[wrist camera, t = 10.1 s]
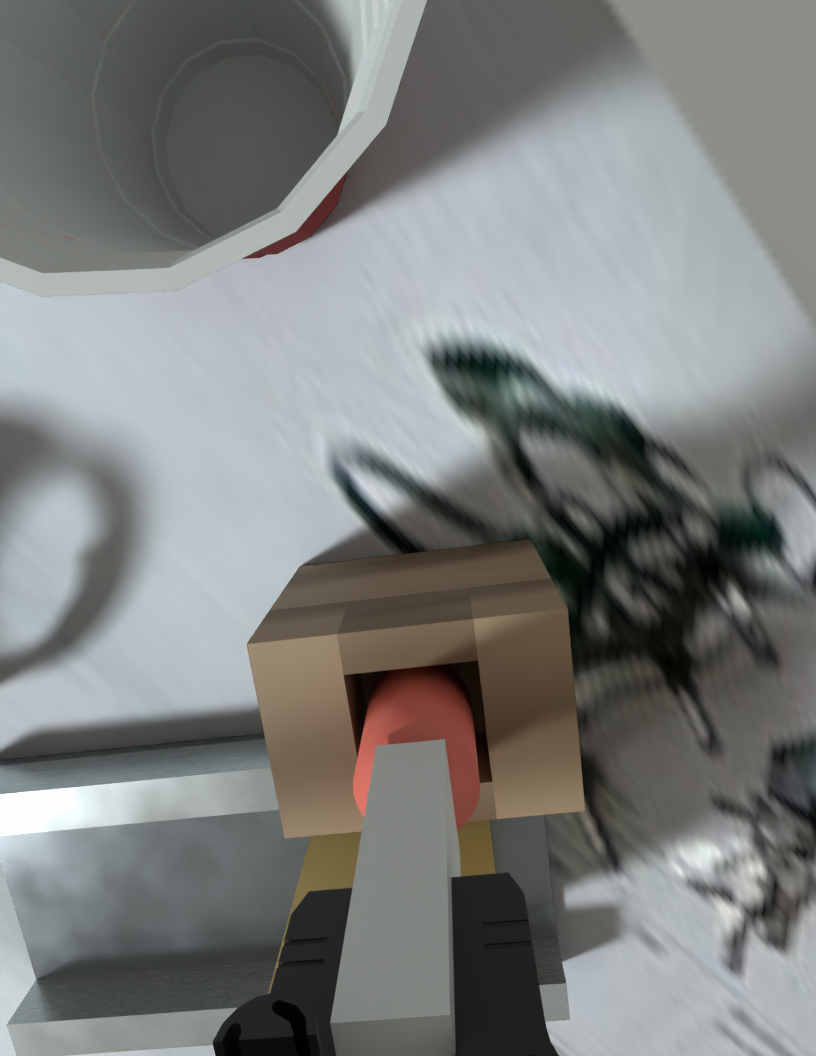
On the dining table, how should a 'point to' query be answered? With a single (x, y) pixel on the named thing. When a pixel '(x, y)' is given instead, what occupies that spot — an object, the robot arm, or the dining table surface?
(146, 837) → the track
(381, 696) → the ball
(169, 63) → the plastic cup
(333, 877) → the carriage
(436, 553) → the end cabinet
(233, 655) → the dining table surface
